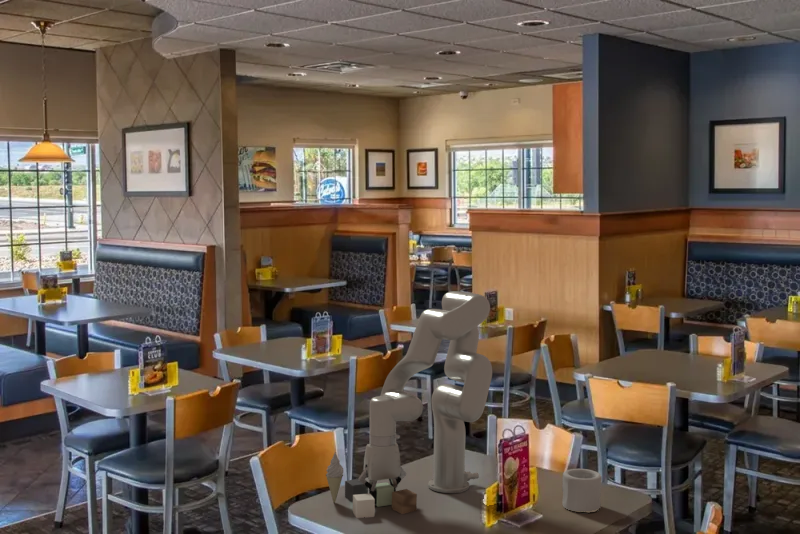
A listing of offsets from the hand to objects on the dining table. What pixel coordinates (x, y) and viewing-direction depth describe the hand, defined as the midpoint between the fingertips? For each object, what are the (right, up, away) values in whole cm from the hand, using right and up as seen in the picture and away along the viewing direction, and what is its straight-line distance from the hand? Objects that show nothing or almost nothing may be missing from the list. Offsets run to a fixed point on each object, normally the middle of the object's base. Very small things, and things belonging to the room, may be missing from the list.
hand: (382, 501), depth 257 cm
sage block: (0, -1, 0) cm, 1 cm away
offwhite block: (-5, -1, -9) cm, 10 cm away
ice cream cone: (-14, -1, 0) cm, 14 cm away
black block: (-8, 0, +4) cm, 9 cm away
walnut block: (+6, -1, -5) cm, 8 cm away
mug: (+57, -2, 0) cm, 57 cm away
